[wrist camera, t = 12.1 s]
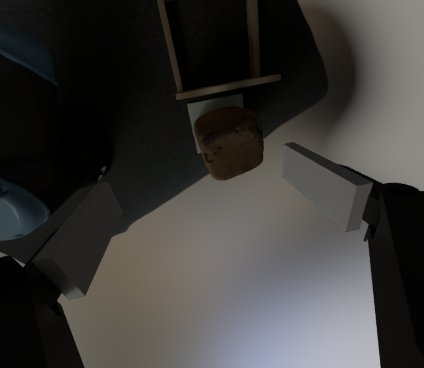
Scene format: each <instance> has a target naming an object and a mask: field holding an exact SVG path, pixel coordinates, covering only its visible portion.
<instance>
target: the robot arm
mask: <svg viewBox="0 0 424 368" xmlns="http://www.w3.org/2000/svg"><path fill="white" fill-rule="evenodd" d="M56 87H58V85H57V82H56V81H55V77H54V71H53V65H52V59H51V55H50V53H49V51H48V50H47V48H46V47H45V46H44V45H43V44H42V43H41V42H40V41H38V40H37V39H35V38H34V37H32V36H30V35H29V34H27V33H25V32H23V31H21V30H19V29H16V28H14V27H12V26H10V25H8V24H6V23H3V22H1V21H0V241H3V240H12V239H16V238H20V237H23V236H25V235H27V234H29V233H30V232H32V231H33V230H34V229H35V228H37V227H38V226H39V225H40V224H42V223H44V222H46V221H47V220H48V219H49V217H50V216H51V215H52V214H53V213H54V212H55V211H56V210H57V209H58V208H59V207H60V206H61V205H62V204H63V203H64V202H65V201H66V200H67V199H68V198H69V197H70V196H72V195H73V194H74V193H75V192H76V191H77V190H78V189H81V188H84V187H87V186H91V185H93V184H95V183H97V182H98V181H100V180H101V179H102V178H103V177H104V176H105V175H106V173H107V172H108V170H109V168H110V164H111V155H110V151H109V148H108V146H107V144H106V142H105V141H104V139H103V138H102V137H101V135H100V134H99V133H98V132H96V131H95V130H94V129H93V128H91V127H90V126H88V125H86V124H85V123H82V122H80V121H77V120H74V119H68V118H59V111H58V101H57V91H56ZM283 147H284V148H283V177H284V178H285V179H286V180H287V181H288V182H289V183H291V184H292V185H293V186H294V187H295V188H296V189H298V190H299V191H300V192H301V193H302V194H303V195H304V196H305V197H306V198H307V199H309V200H310V201H311V202H312V203H313V204H314V205H315V206H316V207H318V208H319V209H320V210H321V211H322V212H323V213H324V214H325V215H326V216H328V217H329V218H330V219H331V220H332V221H333V222H334V223H335V224H337V225H338V226H339V227H340V228H341V229H342V230H343V231H344V232H349V231H353V230H357V229H359V228H360V225H361V222H362V219H363V220H364V221H365V222H367V223H368V224H369V225H368V229H367V232H366V235H365V238H364V241H365V242H366V241H367V239H368V245H369V255H370V265H371V274H372V285H373V294H374V305H375V314H376V325H377V335H378V345H379V354H380V365H381V368H424V191H419V190H418V189H417V188H415V187H413V186H410V185H406V184H401V183H385V184H382V183H380V182H378V181H376V180H374V179H372V178H370V177H368V176H366V175H364V174H362V173H360V172H357V171H355V170H354V169H351V168H349V167H347V166H343V165H339V164H336V163H333V162H332V161H330V160H328V159H325V158H324V157H322V156H320V155H318V154H316V153H314V152H312V151H310V150H308V149H306V148H304V147H302V146H300V145H298V144H296V143H294V142H292V143H287V144H283ZM122 213H123V212H122V210H121V208H120V206H119V204H118V202H117V200H116V198H115V196H114V194H113V192H112V190H111V188H110V186H109V184H108V182H104V183H100V184H96V186H95V187H94V188H93V189H92V190H91V191H90V193H89V194H88V195H87V196H86V197H85V199H84V200H83V201H82V202H81V203H80V205H79V206H78V207H77V208H76V209H75V210H74V212H73V213H72V214H71V215H70V216H69V218H68V219H67V220H66V221H65V222H64V224H63V225H62V226H61V227H60V228H59V229H57V230H56V231H55V232H54V233H52V234H51V235H50V237H49V238H48V239H47V240H46V242H45V243H43V245H42V246H41V247H40V249H38V250H37V252H36V253H35V254H34V255H33V256H32V257H31V259H30V260H29V261H28V262H27V263H26V264H25V266H24V267H22V266H21V265H20V264H19V263H17V261H16V260H15V259H14V258H12V257H11V256H4V257H0V368H84V365H83V363H82V360H81V357H80V354H79V352H78V349H77V347H76V344H75V341H74V338H73V335H72V333H71V330H70V328H69V325H68V322H67V319H66V317H65V314H64V311H63V308H62V306H61V305H60V303H59V302H58V301H57V300H58V298H59V296H60V294H61V293H62V294H64V296H65V297H66V298H67V299H69V300H70V299H75V298H78V297H83V296H85V295H86V293H87V291H88V288H89V286H90V284H91V282H92V280H93V277H94V275H95V273H96V271H97V268H98V266H99V264H100V262H101V260H102V257H103V255H104V253H105V251H106V248H107V246H108V244H109V242H110V240H111V237H112V235H113V233H114V231H115V229H116V226H117V224H118V222H119V220H120V217H121V215H122Z"/></svg>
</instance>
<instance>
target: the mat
mask: <svg viewBox="0 0 424 368" xmlns="http://www.w3.org/2000/svg"><path fill="white" fill-rule="evenodd" d="M187 106H188V110H189V115H190V119H191V124H192V129H193V133H194V123H195V121H196V119H197V118H199V117H200V116H202V115H204V114H206V113H208V112H211V111H214V110H217V109H221V108H226V107H232V106H237V107H240V108H244V106H243V94H237V95H231V96H226V97H221V98H216V99H211V100H206V101H201V102H196V103H190V104H187ZM194 138H195V143H196V147H197V152H198V153H201V150H200V147H199V145H198V142H197V139H196V136H195V133H194Z"/></svg>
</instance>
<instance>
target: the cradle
mask: <svg viewBox="0 0 424 368" xmlns="http://www.w3.org/2000/svg"><path fill="white" fill-rule="evenodd" d="M169 1H175V0H157V3H158V7H159V12H160V16H161V20H162V25H163V29H164V33H165V38H166V42H167V46H168V51H169V55H170V59H171V64H172V68H173V72H174V77H175V81H176V85H177V90H178V93H177V94H176V98H177V100H180V99H185V98H191V97H196V96H201V95H206V94H211V93H216V92H221V91H227V90H232V89H237V88H242V87H247V86H252V85H257V84H263V83H268V82H273V81H278V80H281V74H278V75H271V76H263V77H260V54H259V28H258V2H257V0H246V6H247V23H248V39H249V56H250V73H251V79H246V80H240V81H235V82H230V83H225V84H220V85H215V86H209V87H204V88H199V89H194V90H189V91H183V87H182V82H181V77H180V73H179V68H178V64H177V59H176V54H175V50H174V45H173V41H172V36H171V31H170V27H169V22H168V18H167V13H166V8H165V4H164V2H169Z"/></svg>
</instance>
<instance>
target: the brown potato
mask: <svg viewBox="0 0 424 368" xmlns="http://www.w3.org/2000/svg"><path fill="white" fill-rule="evenodd" d="M262 132H263V129H262V125H261V121H260V118H259V116H258V115H257V113H256V112H254V111H252V110H250V109H247V108H240V107H237V106H232V107H226V108H221V109H217V110H214V111H211V112H208V113H206V114H204V115H202V116H200V117H199V118H197V119H196V121H195V123H194V133H195V136H196V139H197V142H198V145H199V147H200V150H201V153H202V156H203V158H204V161H205V164H206V166H207V168H208V170H209V172H210V174H211V176H212V177H213V178H214V179H216V180H227V179H231V178H233V177H235V176H237V175H240V174H243V173H245V172H247V171H250V170H252V169H254V168H256V167H257V166H259V165H260V164H261V163H262V161H263V150H264V145H263V138H262Z"/></svg>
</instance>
